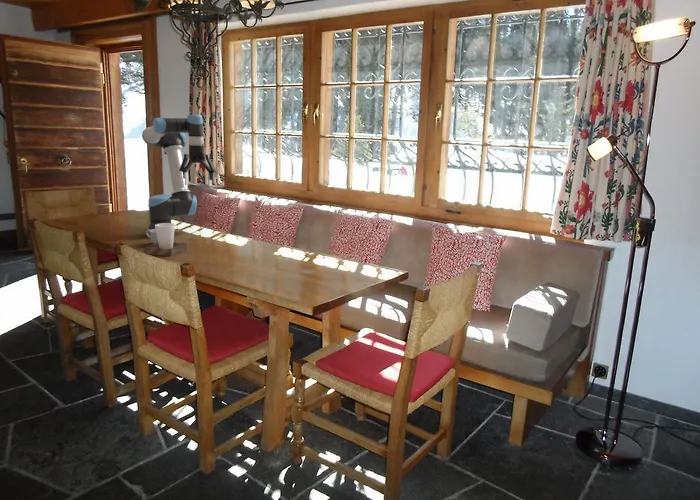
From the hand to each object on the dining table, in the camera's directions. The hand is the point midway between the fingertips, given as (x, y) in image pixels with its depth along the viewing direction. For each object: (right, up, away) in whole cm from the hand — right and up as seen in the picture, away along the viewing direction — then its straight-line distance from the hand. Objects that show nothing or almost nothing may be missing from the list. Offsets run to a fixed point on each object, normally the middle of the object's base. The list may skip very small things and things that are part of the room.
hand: (198, 185), depth 287 cm
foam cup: (-13, -35, -13) cm, 39 cm away
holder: (-13, -35, -13) cm, 40 cm away
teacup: (-23, -31, +5) cm, 39 cm away
